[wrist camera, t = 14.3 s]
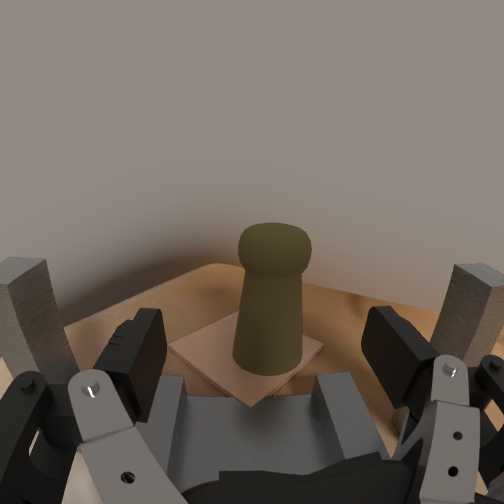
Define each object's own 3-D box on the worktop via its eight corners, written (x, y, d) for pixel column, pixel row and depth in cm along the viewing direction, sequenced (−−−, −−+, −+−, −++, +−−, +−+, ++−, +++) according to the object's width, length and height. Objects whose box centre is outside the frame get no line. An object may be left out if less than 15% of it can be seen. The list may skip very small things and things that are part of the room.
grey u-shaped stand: (456, 468, 9) (561, 312, 5) (41, 480, 7) (-75, 313, 4) (404, 381, 18) (450, 245, 15) (87, 384, 17) (44, 238, 13)
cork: (288, 384, 19) (307, 242, 15) (218, 361, 21) (215, 228, 18) (310, 342, 24) (327, 223, 20) (251, 326, 26) (255, 214, 23)
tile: (244, 312, 30) (244, 307, 30) (322, 348, 24) (324, 343, 24) (168, 349, 23) (167, 344, 23) (250, 412, 17) (251, 407, 16)
